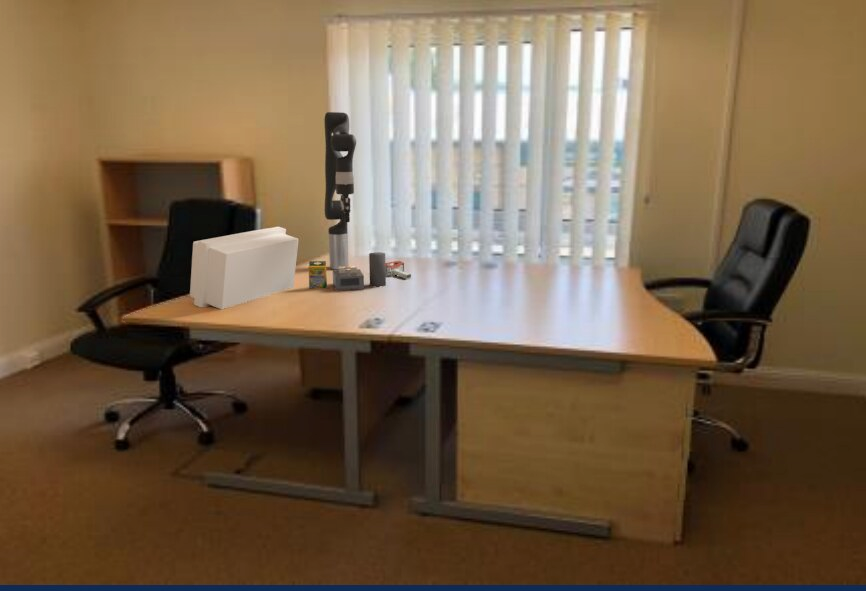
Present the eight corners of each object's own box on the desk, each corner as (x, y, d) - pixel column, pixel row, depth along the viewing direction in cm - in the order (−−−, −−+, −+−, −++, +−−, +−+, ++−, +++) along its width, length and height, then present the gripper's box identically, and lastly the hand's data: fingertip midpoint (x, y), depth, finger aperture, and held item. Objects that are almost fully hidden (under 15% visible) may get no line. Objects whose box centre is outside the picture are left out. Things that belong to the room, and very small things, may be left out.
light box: (265, 279, 306) (270, 223, 298) (295, 291, 299) (301, 234, 291) (186, 301, 267) (189, 237, 259) (218, 314, 260) (223, 250, 252)
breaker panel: (333, 283, 305) (332, 270, 303) (360, 282, 307) (359, 269, 306) (335, 290, 291) (335, 277, 290) (364, 289, 294) (363, 275, 292)
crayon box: (309, 289, 295) (308, 262, 292) (310, 287, 298) (308, 261, 295) (326, 288, 295) (325, 262, 292) (327, 287, 298) (325, 260, 295)
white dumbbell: (338, 272, 297) (338, 266, 296) (356, 271, 299) (356, 265, 298) (339, 273, 296) (339, 268, 295) (356, 272, 298) (356, 267, 297)
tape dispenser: (409, 283, 313) (415, 272, 332) (410, 272, 311) (416, 261, 330) (371, 281, 315) (379, 269, 334) (372, 270, 313) (380, 259, 332)
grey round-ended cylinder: (368, 283, 305) (368, 252, 301) (384, 282, 306) (383, 252, 303) (371, 287, 298) (370, 255, 295) (386, 286, 300) (386, 254, 296)
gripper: (334, 181, 296) (335, 219, 300) (337, 184, 283) (338, 223, 287) (351, 181, 298) (352, 218, 302) (355, 183, 284) (356, 222, 288)
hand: (345, 220), depth 294 cm, fingers open, 8 cm apart
